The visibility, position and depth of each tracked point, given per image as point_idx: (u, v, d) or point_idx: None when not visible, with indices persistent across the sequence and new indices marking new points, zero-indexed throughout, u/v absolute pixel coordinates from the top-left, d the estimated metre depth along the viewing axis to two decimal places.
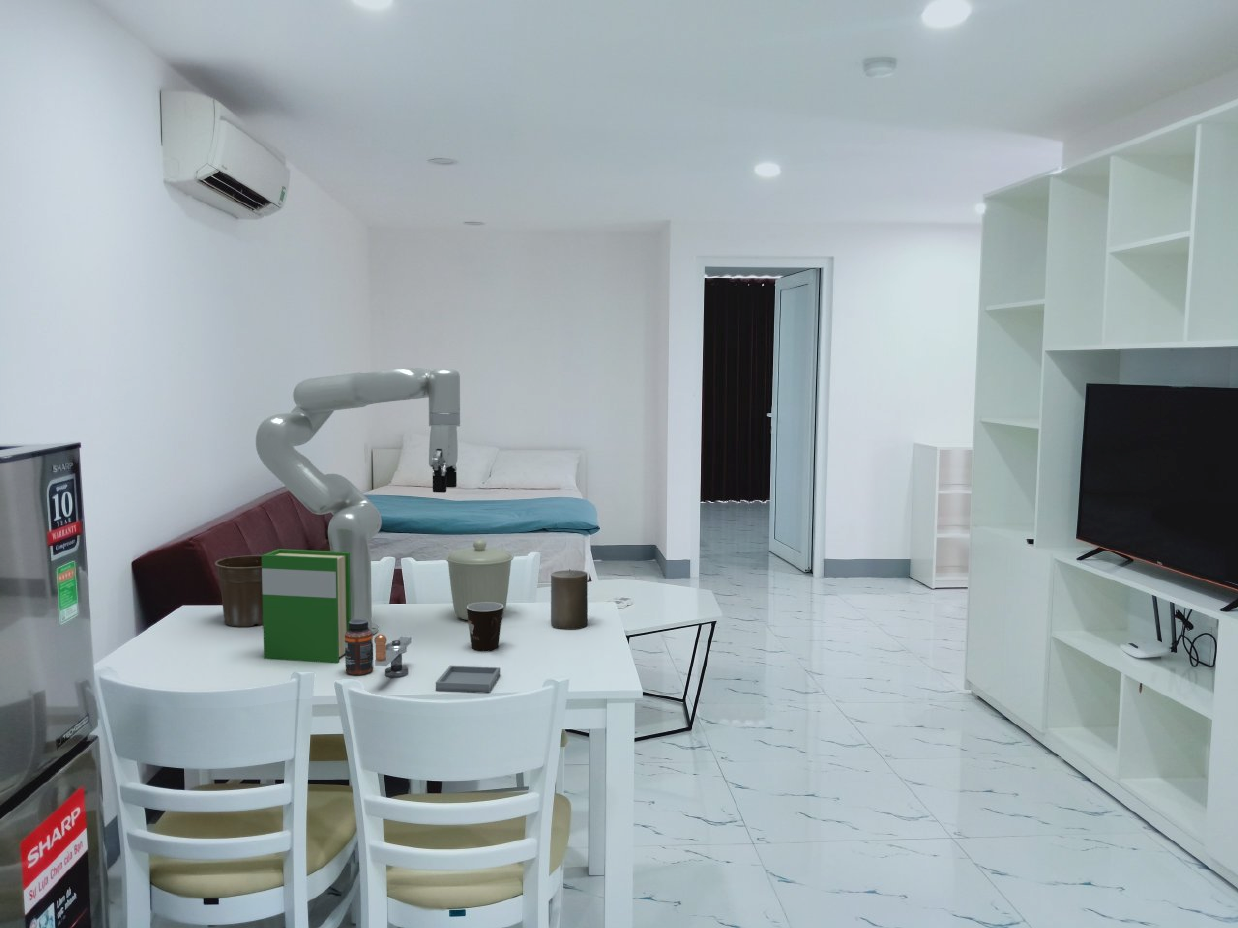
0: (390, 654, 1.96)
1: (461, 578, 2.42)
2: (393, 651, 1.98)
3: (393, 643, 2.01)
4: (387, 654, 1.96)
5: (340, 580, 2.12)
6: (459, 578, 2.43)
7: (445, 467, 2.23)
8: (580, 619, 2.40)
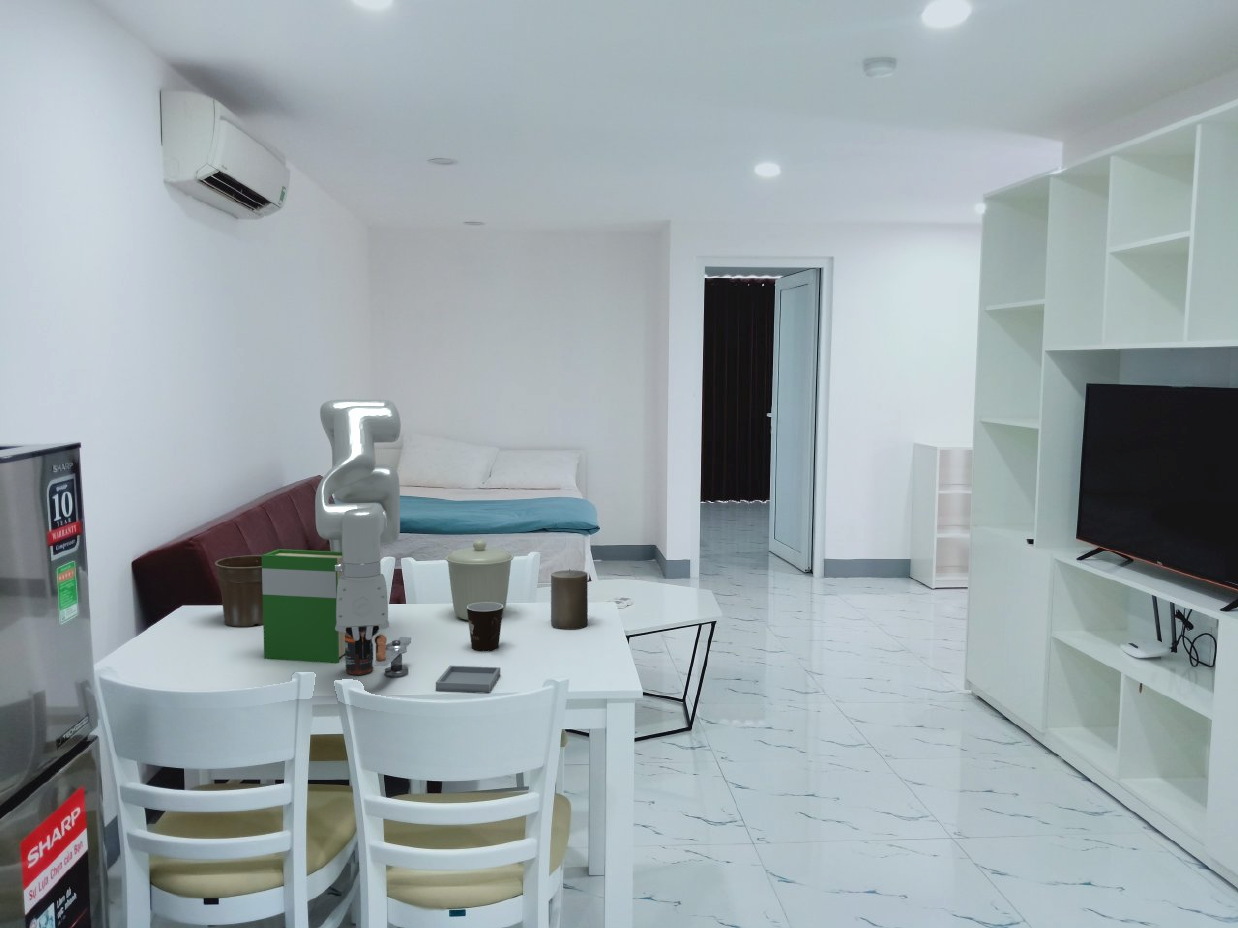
0: (390, 654, 1.96)
1: (461, 578, 2.42)
2: (393, 651, 1.98)
3: (393, 643, 2.01)
4: (387, 654, 1.96)
5: None
6: (459, 578, 2.43)
7: None
8: (580, 619, 2.40)
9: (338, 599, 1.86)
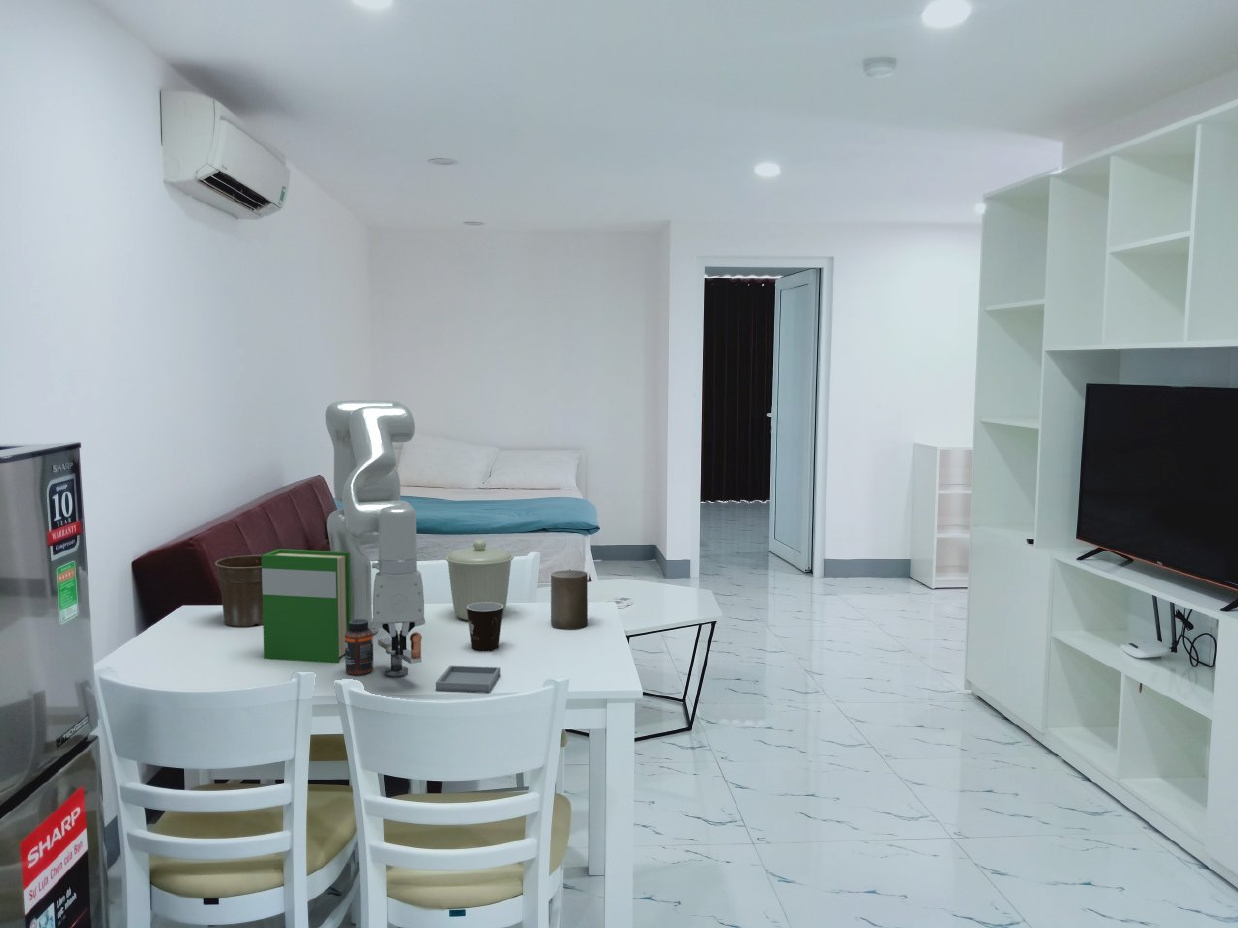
0: (410, 652, 1.98)
1: (461, 578, 2.42)
2: (406, 649, 1.99)
3: None
4: (408, 652, 1.97)
5: (340, 580, 2.12)
6: (459, 578, 2.43)
7: None
8: (580, 619, 2.40)
9: (375, 595, 1.88)
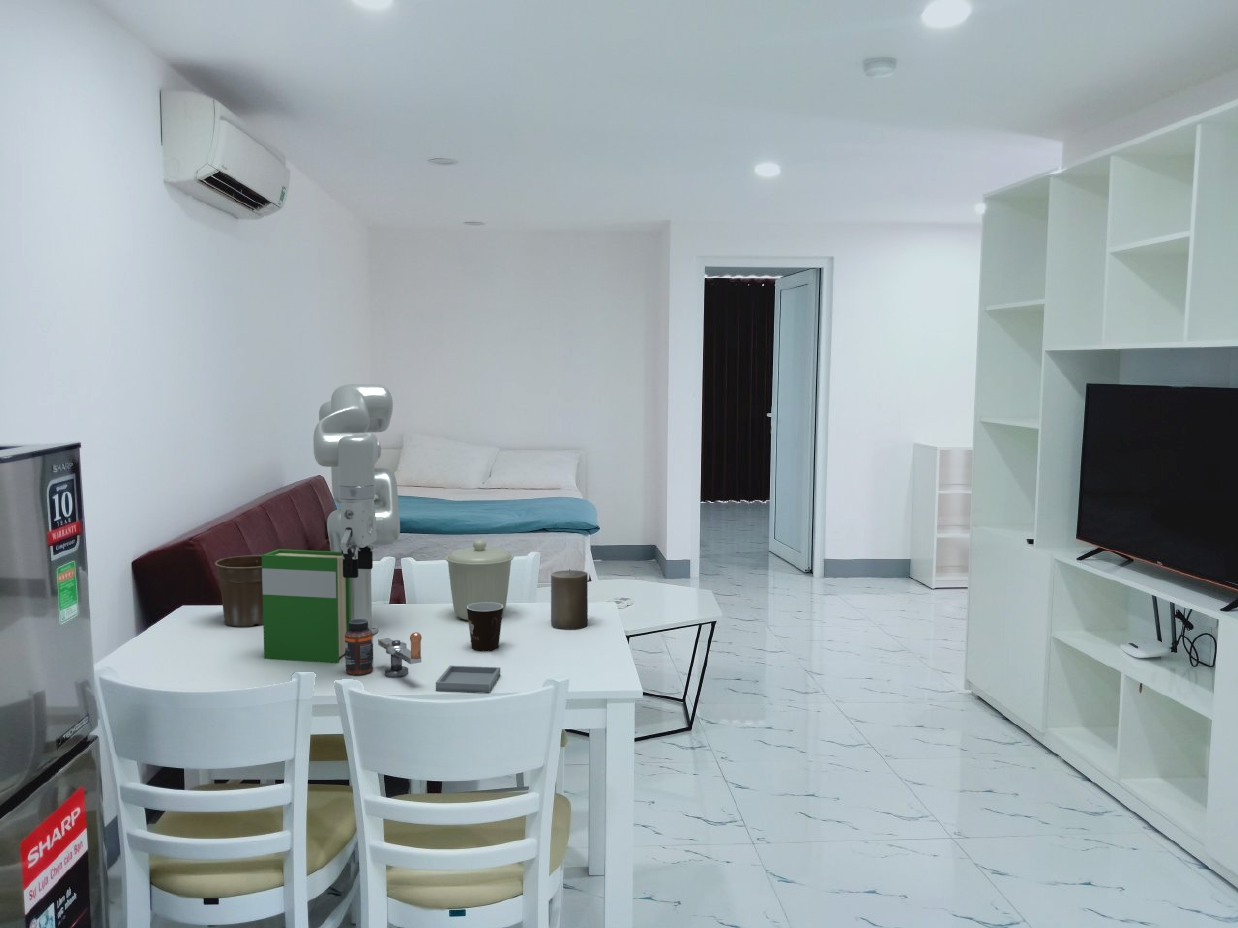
0: (410, 652, 1.98)
1: (461, 578, 2.42)
2: (406, 649, 1.99)
3: (396, 643, 2.01)
4: (408, 652, 1.97)
5: (340, 580, 2.12)
6: (459, 578, 2.43)
7: None
8: (580, 619, 2.40)
9: (360, 521, 1.96)
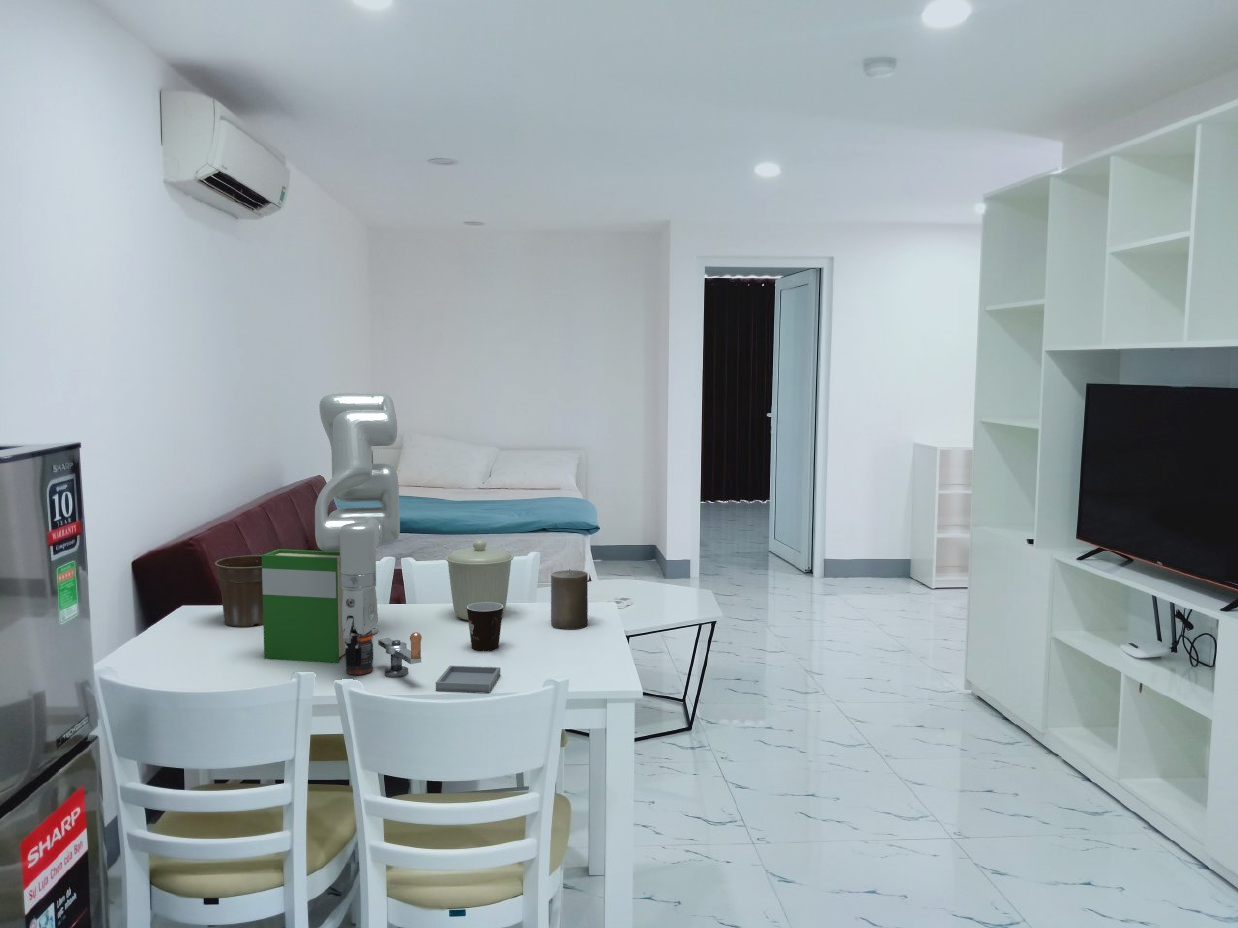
0: (410, 652, 1.98)
1: (461, 578, 2.42)
2: (406, 649, 1.99)
3: (396, 643, 2.01)
4: (408, 652, 1.97)
5: None
6: (459, 578, 2.43)
7: None
8: (580, 619, 2.40)
9: (362, 609, 1.98)
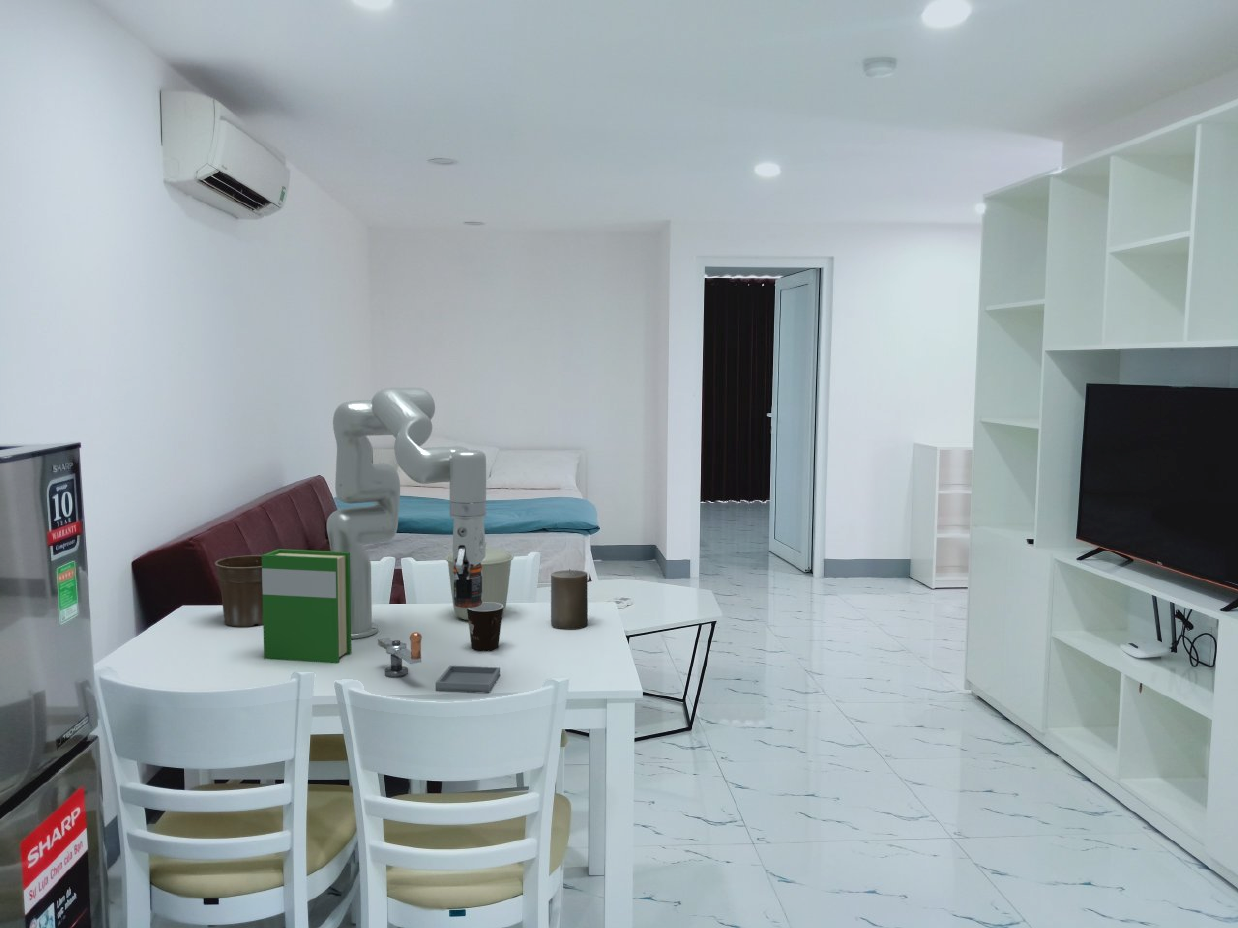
0: (410, 652, 1.98)
1: None
2: (406, 649, 1.99)
3: (396, 643, 2.01)
4: (408, 652, 1.97)
5: (340, 580, 2.12)
6: None
7: None
8: (580, 619, 2.40)
9: (474, 539, 1.90)
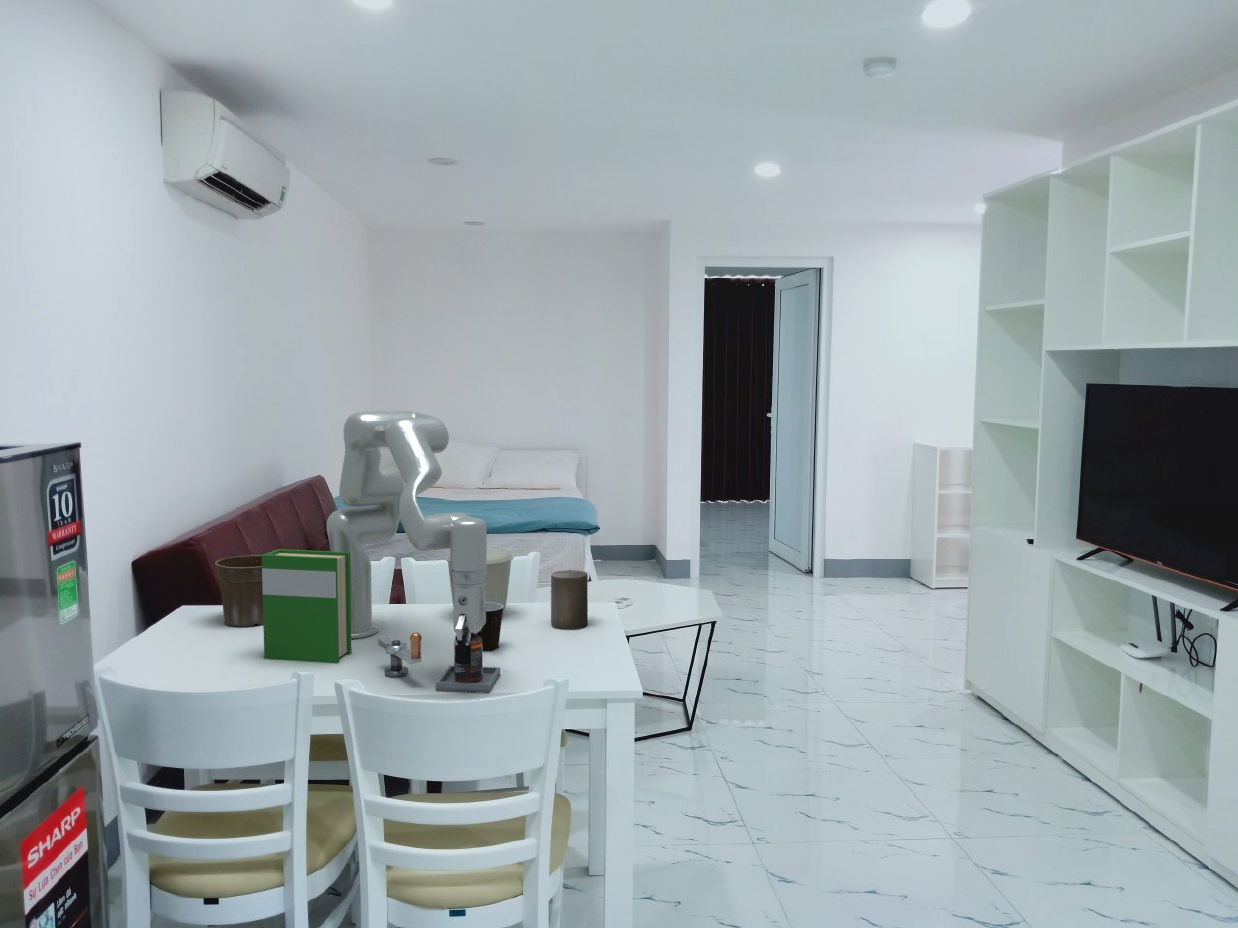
0: (410, 652, 1.98)
1: None
2: (406, 649, 1.99)
3: (396, 643, 2.01)
4: (408, 652, 1.97)
5: (340, 580, 2.12)
6: None
7: None
8: (580, 619, 2.40)
9: (474, 607, 1.91)
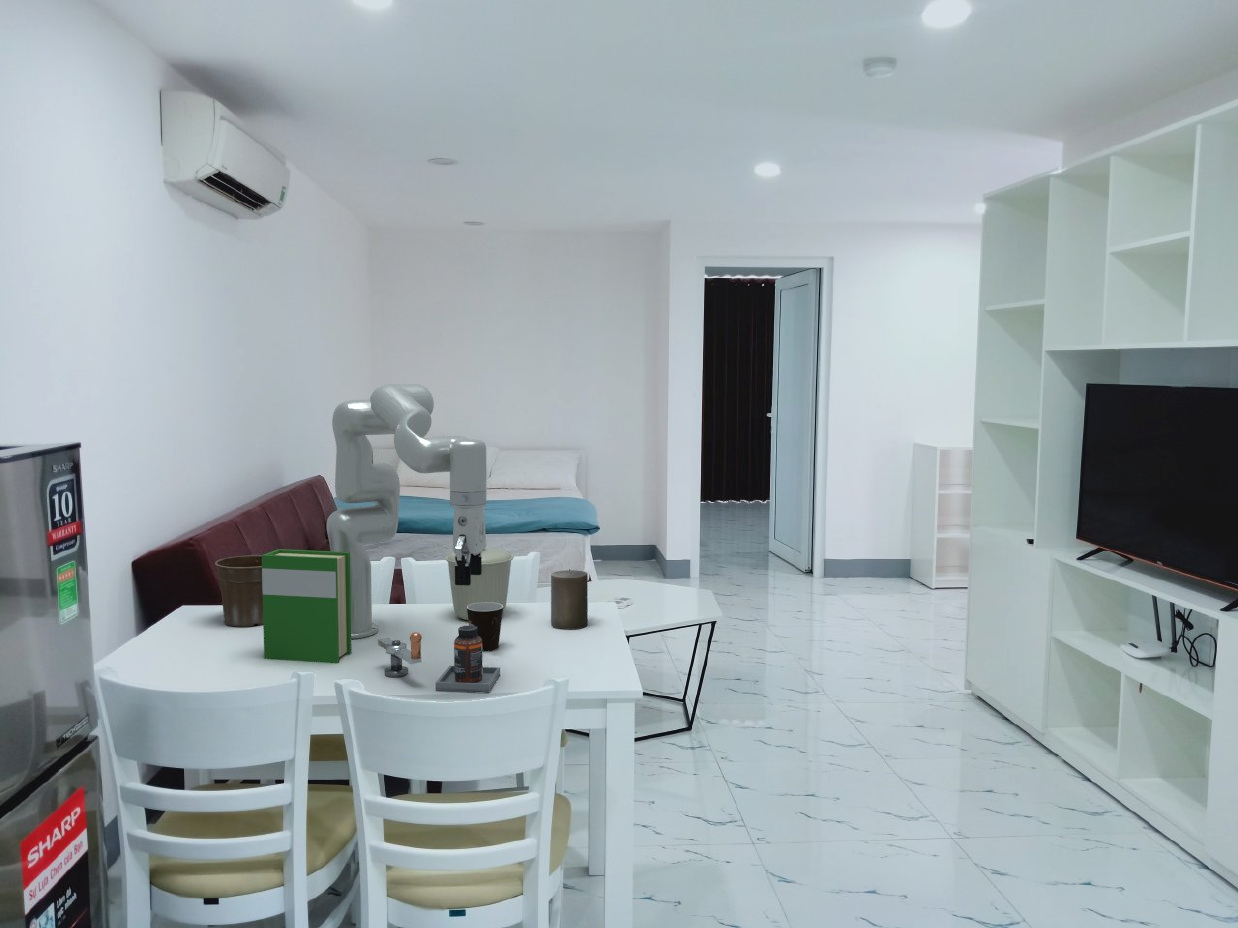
0: (410, 652, 1.98)
1: None
2: (406, 649, 1.99)
3: (396, 643, 2.01)
4: (408, 652, 1.97)
5: (340, 580, 2.12)
6: None
7: None
8: (580, 619, 2.40)
9: (474, 528, 1.89)
